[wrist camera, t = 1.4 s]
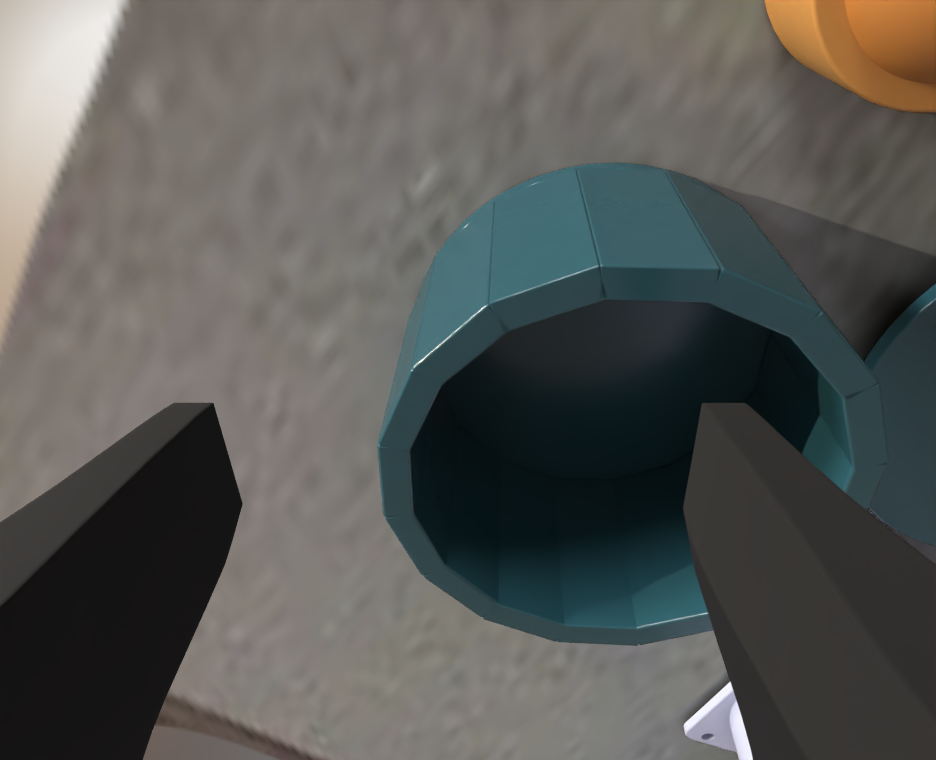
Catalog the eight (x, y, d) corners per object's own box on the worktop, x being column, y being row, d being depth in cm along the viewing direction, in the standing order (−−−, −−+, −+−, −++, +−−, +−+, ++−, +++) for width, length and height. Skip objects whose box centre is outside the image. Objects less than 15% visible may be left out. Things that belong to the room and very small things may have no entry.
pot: (873, 259, 18) (1009, 392, 13) (659, 522, 24) (699, 687, 19) (502, 90, 16) (499, 170, 11) (365, 418, 22) (321, 569, 17)
